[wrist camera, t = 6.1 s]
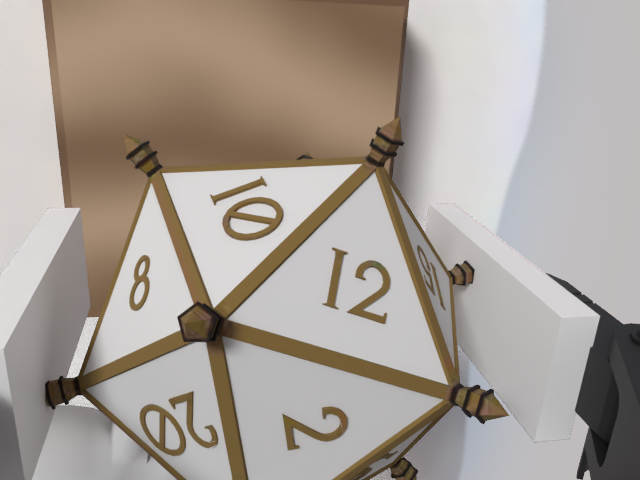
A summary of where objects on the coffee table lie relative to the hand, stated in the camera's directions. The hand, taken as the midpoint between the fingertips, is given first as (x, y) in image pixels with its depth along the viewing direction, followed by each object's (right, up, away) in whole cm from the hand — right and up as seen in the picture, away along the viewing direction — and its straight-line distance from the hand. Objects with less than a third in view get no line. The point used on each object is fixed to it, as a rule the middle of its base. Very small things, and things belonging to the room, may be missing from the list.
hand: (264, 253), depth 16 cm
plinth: (-3, +5, +12) cm, 13 cm away
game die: (0, 0, 0) cm, 0 cm away
